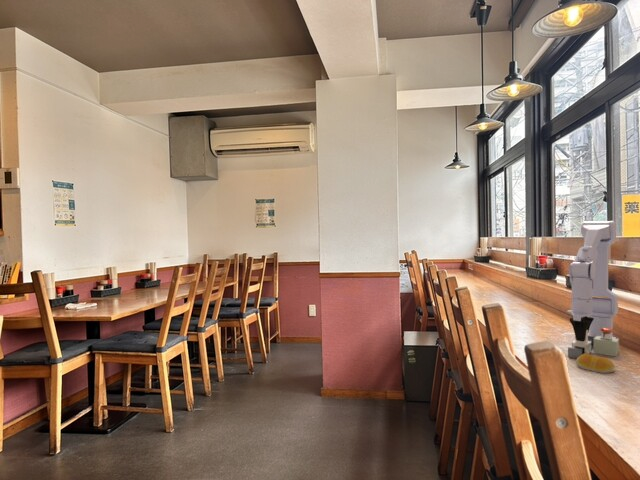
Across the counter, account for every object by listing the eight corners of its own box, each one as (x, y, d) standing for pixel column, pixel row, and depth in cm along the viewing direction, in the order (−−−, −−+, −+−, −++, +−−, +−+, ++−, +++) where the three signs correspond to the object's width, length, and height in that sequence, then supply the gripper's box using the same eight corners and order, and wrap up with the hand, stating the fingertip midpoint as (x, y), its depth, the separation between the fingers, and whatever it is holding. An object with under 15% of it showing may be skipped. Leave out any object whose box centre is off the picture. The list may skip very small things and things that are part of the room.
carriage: (575, 348, 136) (575, 327, 136) (591, 350, 133) (591, 329, 133) (571, 351, 132) (571, 330, 132) (587, 354, 129) (587, 332, 129)
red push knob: (600, 343, 134) (601, 327, 134) (613, 344, 132) (613, 328, 132) (599, 345, 132) (599, 328, 132) (611, 346, 130) (611, 330, 130)
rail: (583, 343, 144) (583, 334, 144) (595, 345, 141) (596, 336, 141) (567, 357, 126) (568, 347, 126) (581, 359, 124) (581, 349, 124)
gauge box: (596, 349, 136) (596, 335, 136) (618, 352, 132) (618, 338, 132) (593, 352, 132) (593, 338, 132) (616, 356, 128) (616, 342, 128)
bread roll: (610, 376, 110) (610, 361, 110) (573, 368, 116) (573, 354, 116) (618, 369, 115) (618, 355, 115) (582, 362, 122) (582, 349, 122)
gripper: (572, 295, 141) (572, 334, 140) (562, 299, 130) (562, 341, 130) (597, 297, 136) (596, 337, 136) (588, 301, 125) (588, 345, 125)
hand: (581, 339), depth 132 cm, fingers closed on carriage, 3 cm apart
